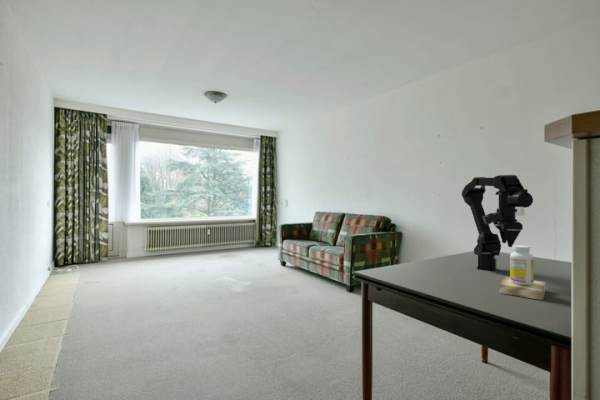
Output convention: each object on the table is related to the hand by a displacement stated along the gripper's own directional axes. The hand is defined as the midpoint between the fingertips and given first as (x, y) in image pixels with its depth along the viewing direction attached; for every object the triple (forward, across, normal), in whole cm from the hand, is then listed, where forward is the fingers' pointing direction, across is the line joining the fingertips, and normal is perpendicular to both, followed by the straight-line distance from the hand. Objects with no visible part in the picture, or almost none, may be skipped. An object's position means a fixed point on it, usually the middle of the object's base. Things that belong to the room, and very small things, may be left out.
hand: (506, 244), depth 128 cm
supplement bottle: (+10, +19, 0) cm, 22 cm away
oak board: (+13, +19, 0) cm, 23 cm away
